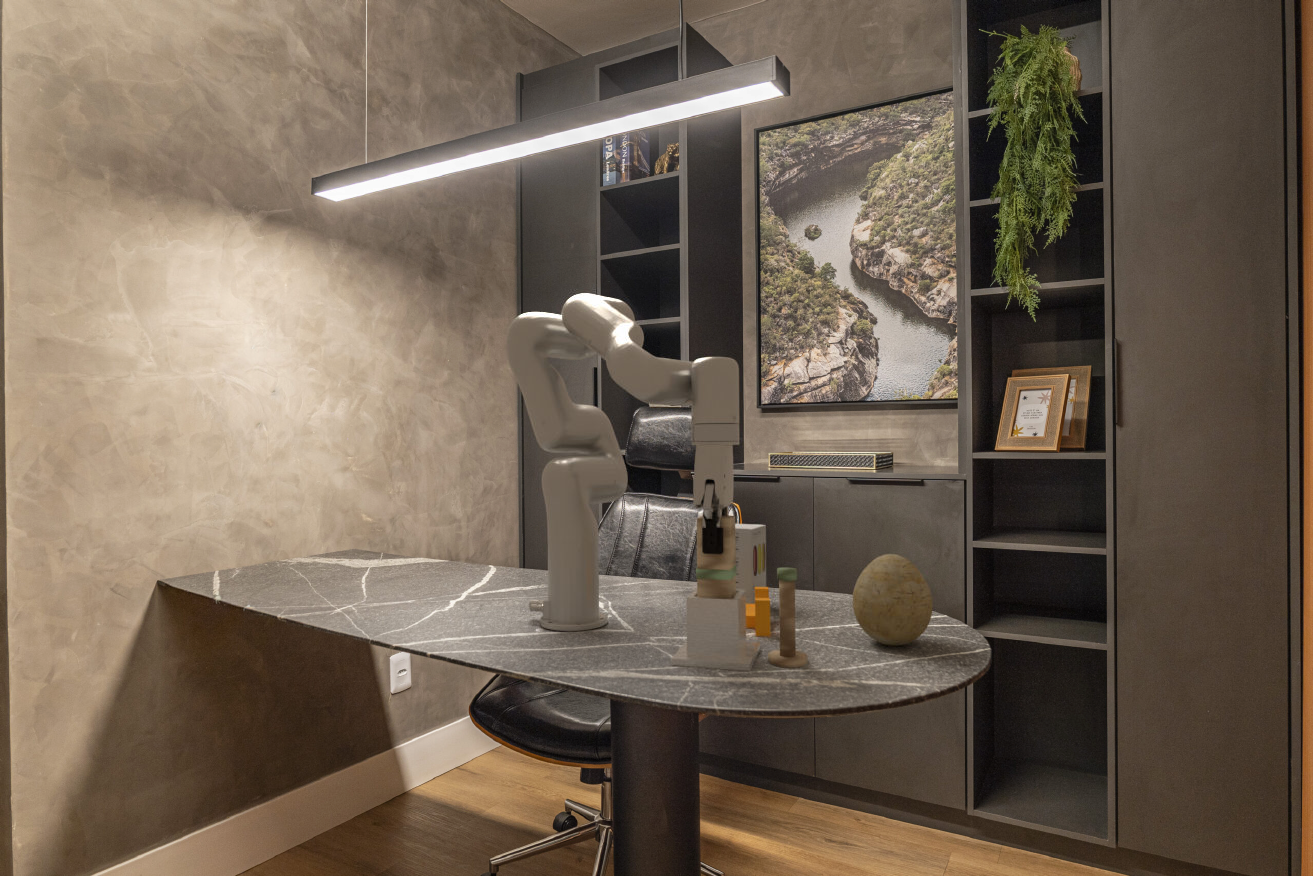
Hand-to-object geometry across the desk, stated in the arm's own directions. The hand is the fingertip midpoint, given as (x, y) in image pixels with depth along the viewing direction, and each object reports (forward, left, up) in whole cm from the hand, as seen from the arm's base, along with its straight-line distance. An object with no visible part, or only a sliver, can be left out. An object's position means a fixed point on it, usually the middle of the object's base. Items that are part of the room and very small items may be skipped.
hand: (716, 549), depth 118 cm
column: (0, 0, -10) cm, 10 cm away
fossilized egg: (+27, +14, -17) cm, 35 cm away
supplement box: (-2, +35, -17) cm, 39 cm away
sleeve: (0, 0, -17) cm, 17 cm away
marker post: (+11, 0, -17) cm, 20 cm away
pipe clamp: (+4, +20, -17) cm, 27 cm away
